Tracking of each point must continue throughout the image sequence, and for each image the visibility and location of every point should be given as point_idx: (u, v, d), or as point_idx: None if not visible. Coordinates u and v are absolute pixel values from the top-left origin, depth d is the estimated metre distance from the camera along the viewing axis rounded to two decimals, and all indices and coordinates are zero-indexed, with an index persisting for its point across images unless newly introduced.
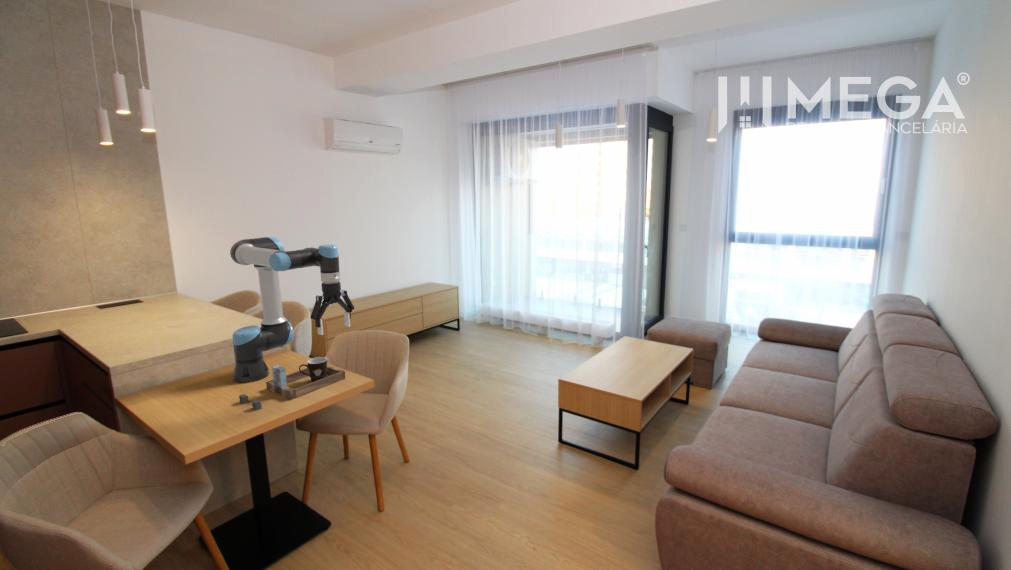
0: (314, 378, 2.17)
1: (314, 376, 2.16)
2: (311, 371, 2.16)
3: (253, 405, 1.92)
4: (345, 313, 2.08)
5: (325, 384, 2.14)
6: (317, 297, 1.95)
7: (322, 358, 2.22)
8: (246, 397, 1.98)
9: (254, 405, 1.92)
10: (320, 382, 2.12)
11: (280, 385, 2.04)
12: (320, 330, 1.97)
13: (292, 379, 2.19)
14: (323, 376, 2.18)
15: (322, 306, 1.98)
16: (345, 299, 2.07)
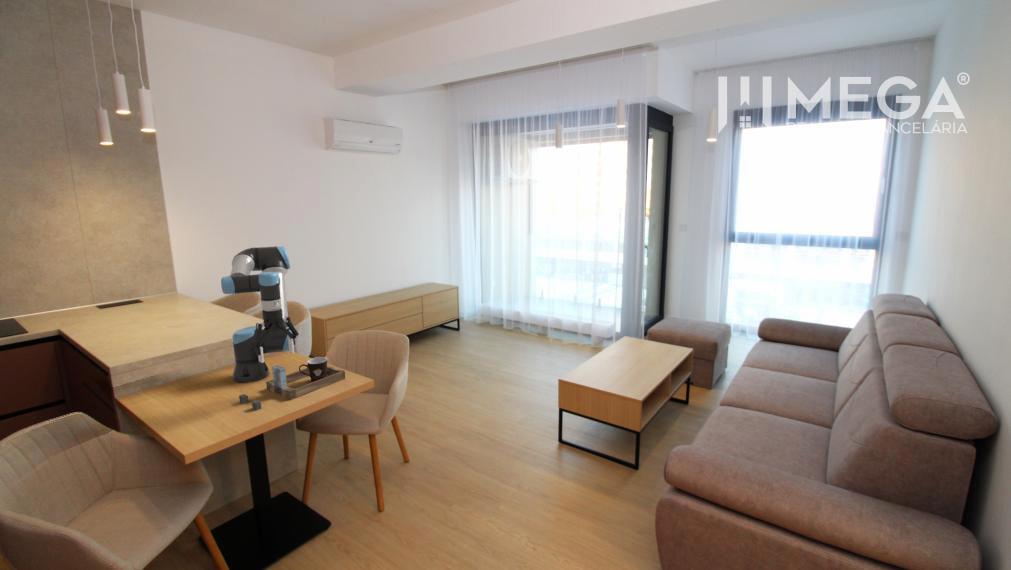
0: (314, 378, 2.17)
1: (314, 376, 2.16)
2: (311, 371, 2.16)
3: (253, 405, 1.92)
4: (289, 339, 2.08)
5: (325, 384, 2.14)
6: (257, 325, 1.95)
7: (322, 358, 2.22)
8: (246, 397, 1.98)
9: (254, 405, 1.92)
10: (320, 382, 2.12)
11: (280, 385, 2.04)
12: (261, 358, 1.97)
13: (292, 379, 2.19)
14: (323, 376, 2.18)
15: (263, 334, 1.97)
16: (288, 325, 2.06)
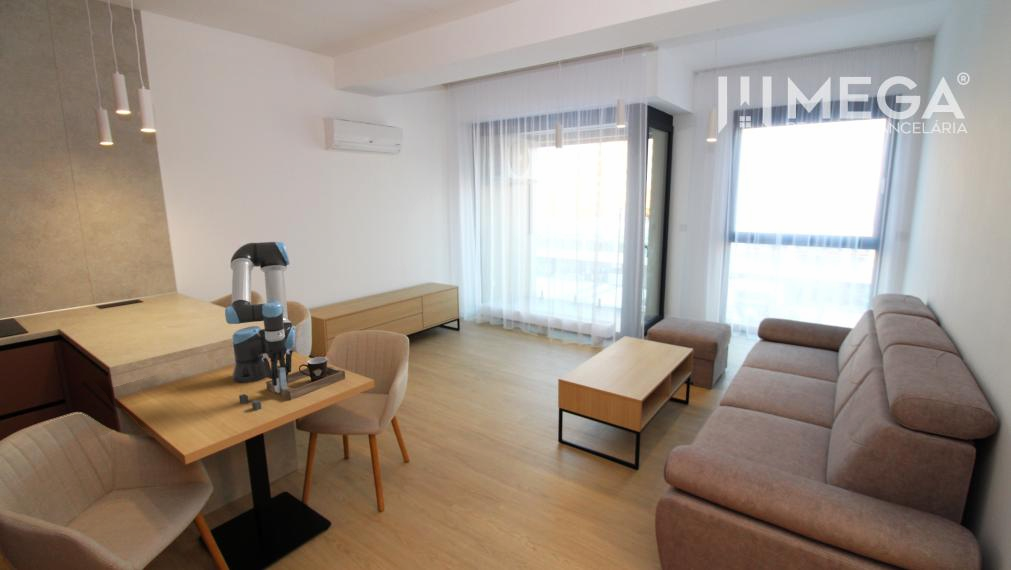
0: (314, 378, 2.17)
1: (314, 376, 2.16)
2: (311, 371, 2.16)
3: (253, 405, 1.92)
4: None
5: (325, 384, 2.14)
6: (262, 360, 1.98)
7: (322, 358, 2.22)
8: (246, 397, 1.98)
9: (254, 405, 1.92)
10: (320, 382, 2.12)
11: (280, 385, 2.04)
12: (277, 388, 2.04)
13: (292, 379, 2.19)
14: (323, 376, 2.18)
15: (272, 365, 2.02)
16: (287, 359, 2.07)
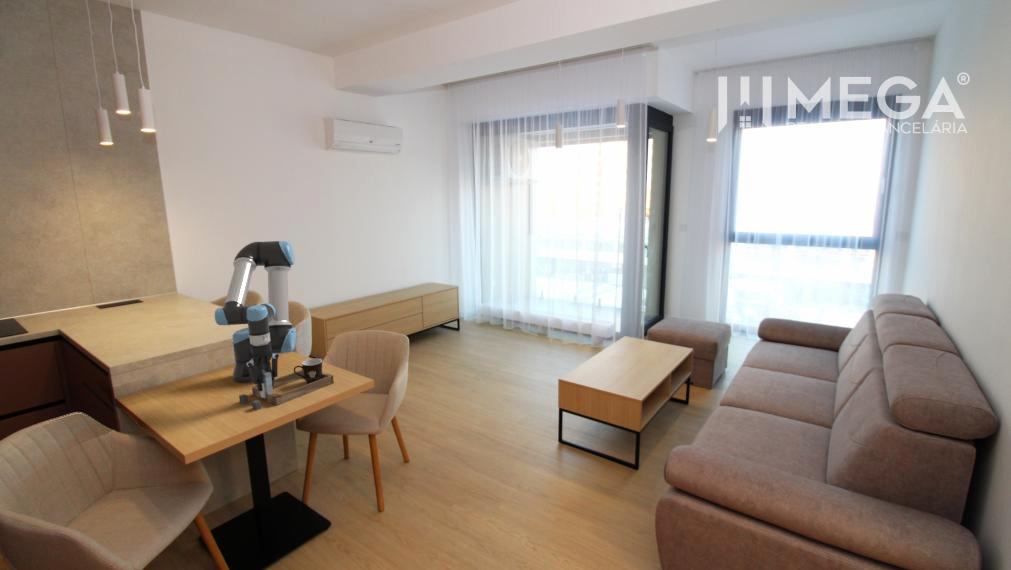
0: (309, 380, 2.15)
1: (309, 378, 2.14)
2: (306, 373, 2.14)
3: (253, 405, 1.92)
4: None
5: (312, 389, 2.09)
6: (247, 365, 1.93)
7: (318, 359, 2.20)
8: (246, 397, 1.98)
9: (254, 405, 1.92)
10: (307, 387, 2.07)
11: (265, 391, 1.99)
12: (262, 393, 1.99)
13: (279, 384, 2.14)
14: (318, 378, 2.16)
15: (257, 370, 1.97)
16: (273, 363, 2.02)
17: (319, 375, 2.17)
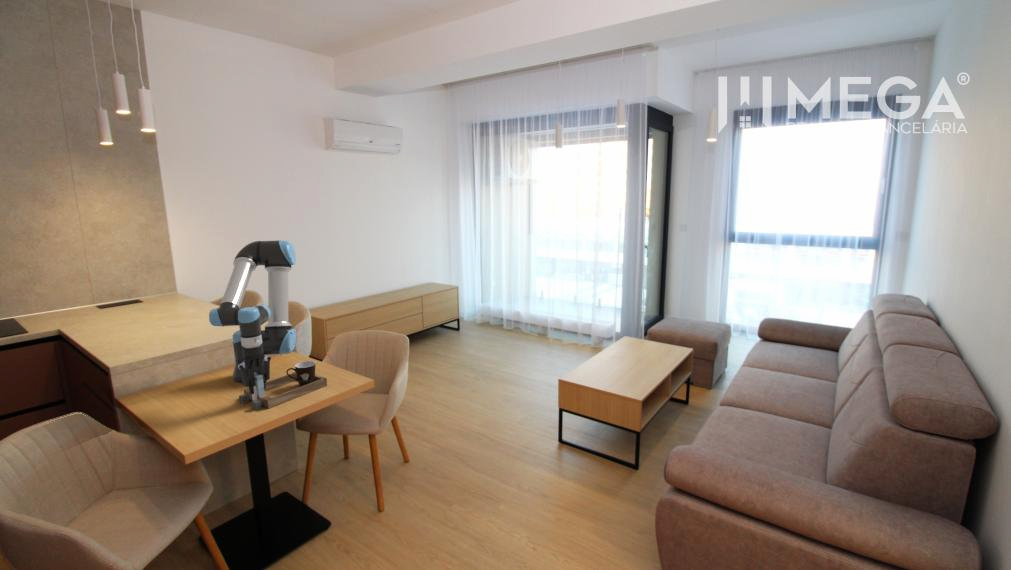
0: (302, 383, 2.12)
1: (301, 380, 2.12)
2: (298, 375, 2.11)
3: (253, 405, 1.92)
4: None
5: (305, 392, 2.06)
6: (238, 368, 1.90)
7: (311, 362, 2.18)
8: (246, 397, 1.98)
9: (254, 405, 1.92)
10: (300, 390, 2.04)
11: (257, 394, 1.96)
12: (254, 396, 1.96)
13: (271, 386, 2.12)
14: (311, 380, 2.13)
15: (249, 372, 1.94)
16: (265, 366, 1.99)
17: (312, 378, 2.14)
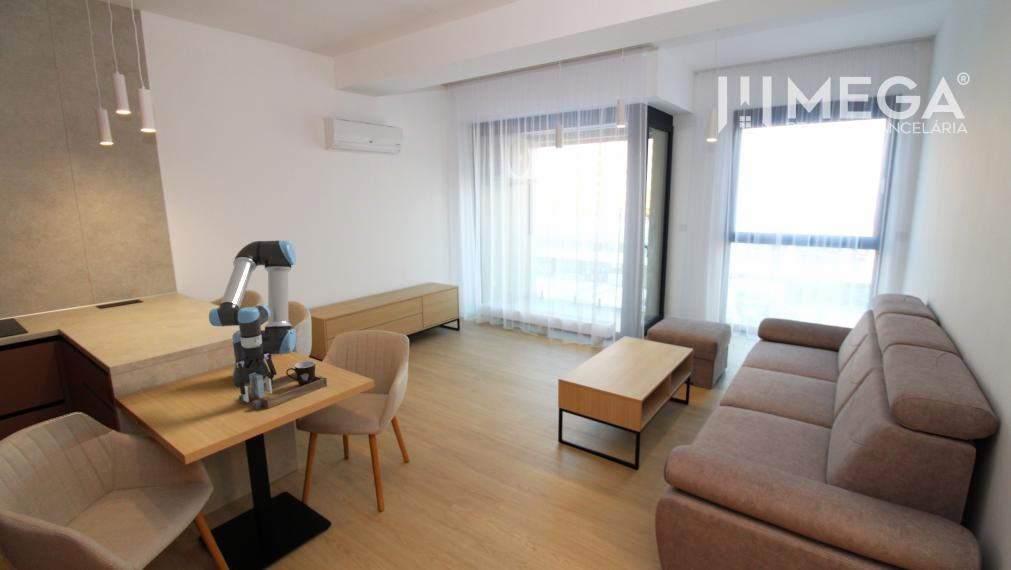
0: (302, 383, 2.12)
1: (301, 380, 2.12)
2: (298, 375, 2.11)
3: (253, 405, 1.92)
4: (266, 379, 2.01)
5: (305, 392, 2.06)
6: (237, 365, 1.90)
7: (311, 362, 2.17)
8: None
9: (254, 405, 1.92)
10: (300, 390, 2.04)
11: (257, 394, 1.96)
12: (245, 397, 1.93)
13: (271, 386, 2.11)
14: (311, 380, 2.13)
15: (245, 372, 1.93)
16: (268, 363, 2.00)
17: (312, 378, 2.14)
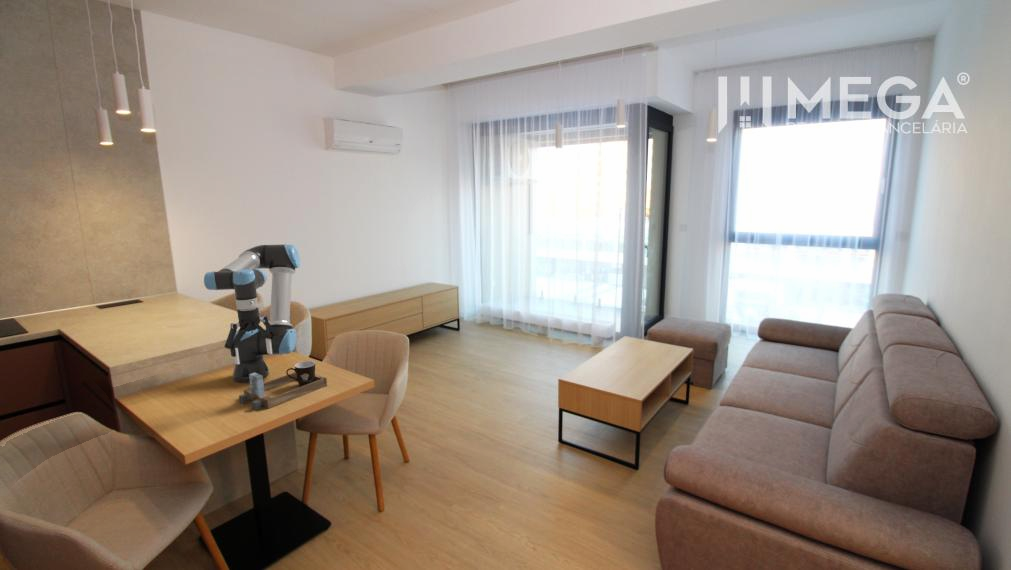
0: (302, 383, 2.12)
1: (301, 380, 2.12)
2: (298, 375, 2.11)
3: (253, 405, 1.92)
4: (266, 340, 1.99)
5: (305, 392, 2.06)
6: (232, 326, 1.86)
7: (311, 362, 2.17)
8: (246, 397, 1.98)
9: (254, 405, 1.92)
10: (300, 390, 2.04)
11: (257, 394, 1.96)
12: (236, 359, 1.89)
13: (271, 386, 2.11)
14: (311, 380, 2.13)
15: (238, 334, 1.89)
16: (266, 325, 1.98)
17: (312, 378, 2.14)
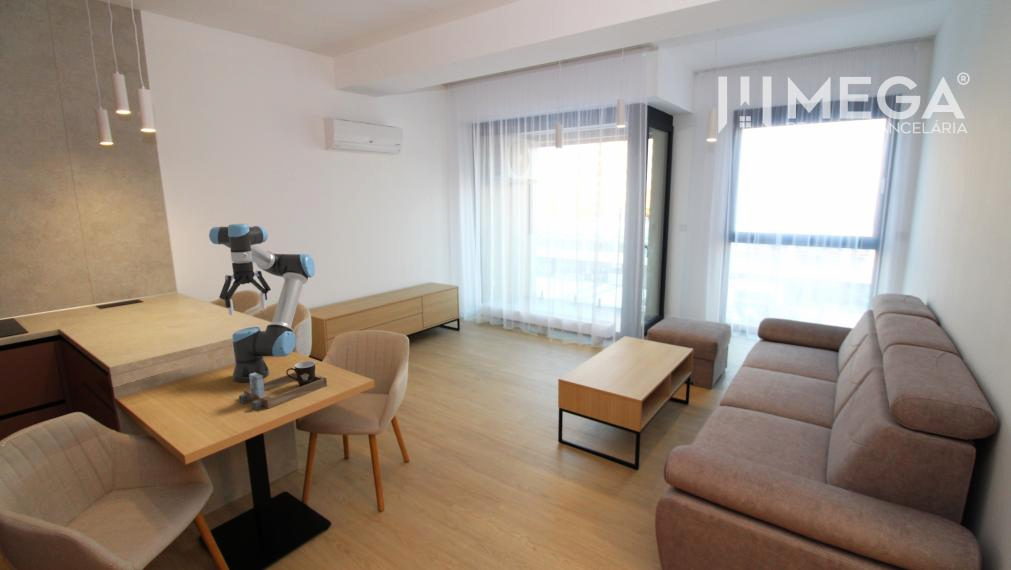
0: (302, 383, 2.12)
1: (301, 380, 2.12)
2: (298, 375, 2.11)
3: (253, 405, 1.92)
4: (260, 294, 2.05)
5: (305, 392, 2.06)
6: (226, 277, 1.92)
7: (311, 362, 2.17)
8: (246, 397, 1.98)
9: (254, 405, 1.92)
10: (300, 390, 2.04)
11: (257, 394, 1.96)
12: (230, 310, 1.94)
13: (271, 386, 2.11)
14: (311, 380, 2.13)
15: (232, 286, 1.95)
16: (260, 280, 2.04)
17: (312, 378, 2.14)
